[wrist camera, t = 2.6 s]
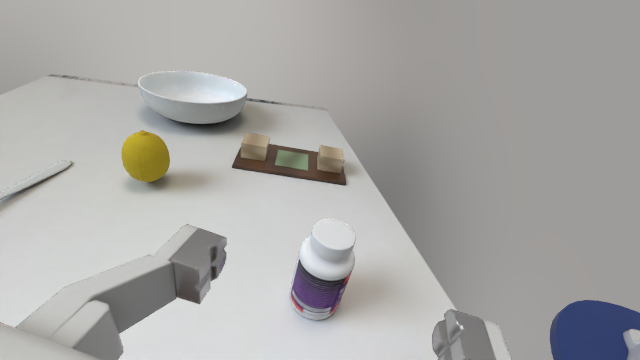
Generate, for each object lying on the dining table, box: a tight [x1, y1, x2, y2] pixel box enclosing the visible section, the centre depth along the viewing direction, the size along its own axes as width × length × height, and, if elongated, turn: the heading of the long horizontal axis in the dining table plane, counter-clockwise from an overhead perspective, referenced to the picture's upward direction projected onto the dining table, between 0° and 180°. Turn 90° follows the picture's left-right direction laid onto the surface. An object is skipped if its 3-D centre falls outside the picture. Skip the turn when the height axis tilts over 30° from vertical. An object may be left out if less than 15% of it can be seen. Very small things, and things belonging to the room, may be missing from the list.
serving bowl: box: [137, 71, 247, 124], centre depth 60 cm, size 21×21×7 cm
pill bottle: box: [290, 218, 356, 320], centre depth 27 cm, size 5×5×10 cm
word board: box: [232, 133, 346, 185], centre depth 52 cm, size 20×10×4 cm, turn 92°
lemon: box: [122, 131, 170, 182], centre depth 38 cm, size 6×6×8 cm
